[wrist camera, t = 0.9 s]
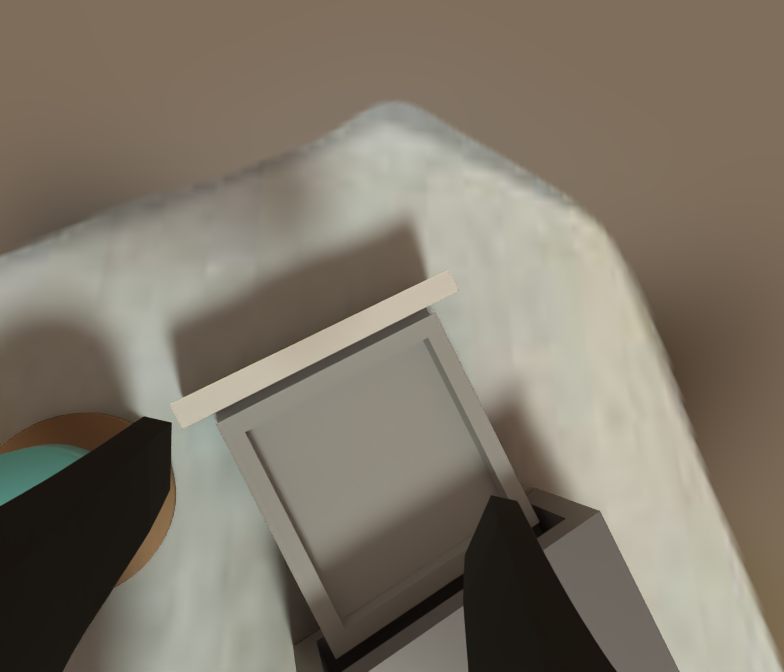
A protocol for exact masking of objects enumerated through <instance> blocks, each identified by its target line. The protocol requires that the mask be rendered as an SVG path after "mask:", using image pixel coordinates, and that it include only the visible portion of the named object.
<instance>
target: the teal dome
mask: <svg viewBox="0 0 784 672" xmlns="http://www.w3.org/2000/svg"><path fill="white" fill-rule="evenodd" d="M89 452H90V451H89V450H86V449H83V448H80V447H76V446H71V445H65V444H44V445H38V446H32V447H28V448H24V449H20V450H16V451H12V452H8V453H4V454H0V506H1V505H3V504H4V503H6V502H8V501H10V500H11V499H13V498H15V497H17V496H18V495H20V494H22V493H24V492H25V491H27V490H29V489H31V488H32V487H34V486H36V485H37V484H39V483H41V482H43V481H44V480H46V479H48V478H49V477H51V476H52V475H54V474H56V473H57V472H59V471H60V470H62V469H64V468H65V467H67V466H68V465H70V464H72V463H73V462H75V461H76V460H78V459H80V458H81V457H83V456H84V455H86V454H87V453H89Z"/></svg>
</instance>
